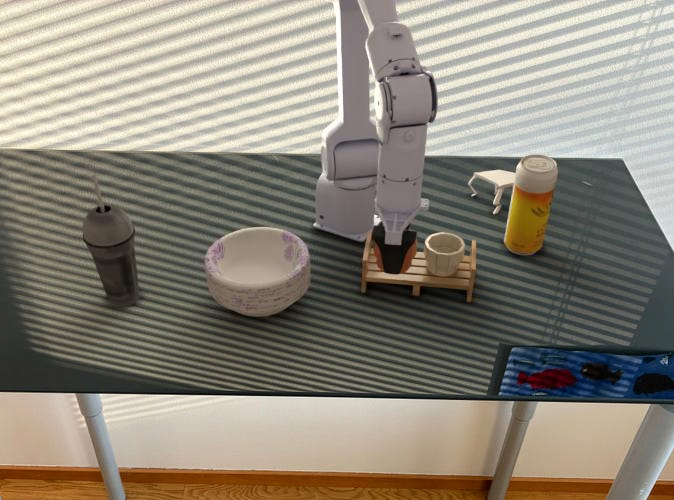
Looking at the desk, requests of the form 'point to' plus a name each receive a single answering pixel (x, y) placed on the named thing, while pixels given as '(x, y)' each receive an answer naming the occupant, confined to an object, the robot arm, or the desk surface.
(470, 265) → the bowl rack
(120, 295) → the beverage cup
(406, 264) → the terracotta bowl
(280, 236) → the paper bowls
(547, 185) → the beer can
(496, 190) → the white miniature table
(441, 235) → the cream bowl
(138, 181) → the desk surface
